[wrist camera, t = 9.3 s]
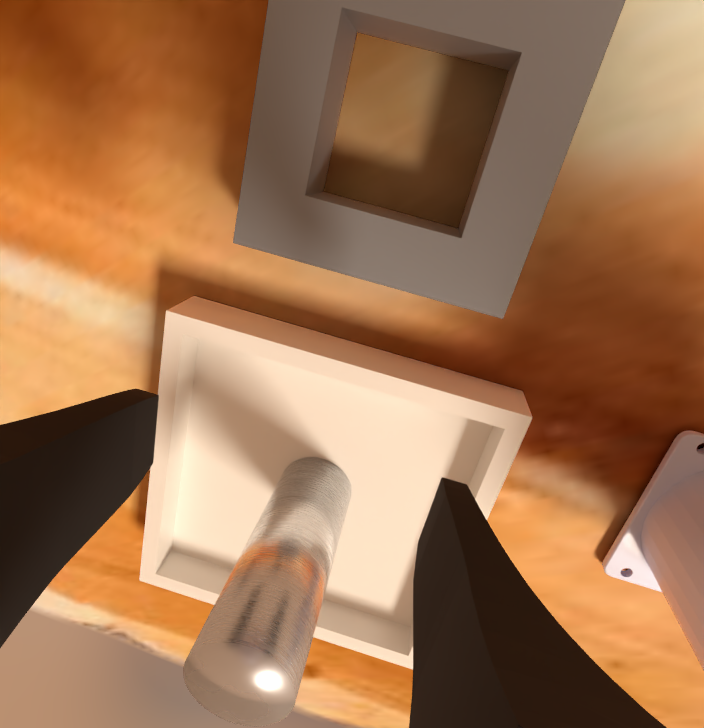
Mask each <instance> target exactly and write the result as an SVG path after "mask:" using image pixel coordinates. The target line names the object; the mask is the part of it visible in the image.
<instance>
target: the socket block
mask: <svg viewBox="0 0 704 728" xmlns="http://www.w3.org/2000/svg"><path fill="white" fill-rule="evenodd" d="M624 3H625V0H269V1H268V7H267V14H266V21H265V28H264V35H263V42H262V48H261V55H260V62H259V69H258V76H257V82H256V89H255V96H254V103H253V110H252V117H251V123H250V130H249V137H248V144H247V151H246V157H245V164H244V171H243V178H242V185H241V192H240V198H239V205H238V212H237V219H236V226H235V232H234V239H233V243H235V244H239V245H242V246H246V247H249V248H253V249H257V250H260V251H264V252H267V253H271V254H274V255H278V256H281V257H285V258H288V259H292V260H296V261H299V262H303V263H306V264H310V265H313V266H317V267H320V268H324V269H327V270H331V271H335V272H338V273H342V274H345V275H349V276H352V277H356V278H359V279H363V280H366V281H370V282H373V283H377V284H381V285H384V286H388V287H391V288H395V289H398V290H402V291H405V292H409V293H412V294H416V295H420V296H423V297H427V298H430V299H434V300H437V301H441V302H444V303H448V304H451V305H455V306H459V307H462V308H466V309H469V310H473V311H476V312H480V313H483V314H487V315H490V316H494V317H498V318H501V319H503V318H504V315H505V313H506V310H507V307H508V305H509V302H510V300H511V297H512V294H513V292H514V289H515V287H516V284H517V281H518V279H519V276H520V274H521V271H522V268H523V266H524V263H525V261H526V258H527V255H528V253H529V250H530V248H531V245H532V242H533V240H534V237H535V235H536V232H537V229H538V227H539V224H540V221H541V219H542V216H543V214H544V211H545V208H546V206H547V203H548V201H549V198H550V195H551V193H552V190H553V188H554V185H555V182H556V180H557V177H558V175H559V172H560V169H561V167H562V164H563V162H564V159H565V156H566V154H567V151H568V149H569V146H570V143H571V141H572V138H573V136H574V133H575V130H576V128H577V125H578V123H579V120H580V117H581V115H582V112H583V110H584V107H585V104H586V102H587V99H588V96H589V94H590V91H591V89H592V86H593V83H594V81H595V78H596V76H597V73H598V70H599V68H600V65H601V63H602V60H603V57H604V55H605V52H606V50H607V47H608V44H609V42H610V39H611V37H612V34H613V31H614V29H615V26H616V24H617V21H618V18H619V16H620V13H621V11H622V8H623V5H624ZM357 32H358V33H362V34H366V35H370V36H374V37H378V38H382V39H386V40H390V41H394V42H398V43H402V44H406V45H410V46H414V47H418V48H422V49H426V50H429V51H433V52H437V53H441V54H445V55H449V56H453V57H457V58H461V59H465V60H469V61H473V62H477V63H481V64H485V65H489V66H493V67H497V68H501V69H504V70H508V71H509V72H508V75H507V78H506V81H505V84H504V87H503V91H502V94H501V97H500V100H499V103H498V106H497V109H496V112H495V115H494V119H493V122H492V125H491V128H490V131H489V134H488V137H487V140H486V143H485V147H484V150H483V153H482V156H481V159H480V162H479V165H478V168H477V171H476V175H475V178H474V181H473V184H472V187H471V190H470V193H469V196H468V199H467V203H466V206H465V209H464V212H463V215H462V218H461V221H460V224H459V227H458V228H455V227H451V226H448V225H444V224H440V223H437V222H433V221H429V220H426V219H422V218H418V217H415V216H411V215H407V214H404V213H400V212H396V211H393V210H389V209H385V208H382V207H378V206H374V205H371V204H367V203H363V202H360V201H356V200H352V199H349V198H345V197H342V196H338V195H334V194H331V193H327V192H323V191H324V187H325V182H326V177H327V172H328V168H329V163H330V158H331V153H332V148H333V144H334V139H335V134H336V129H337V125H338V120H339V115H340V110H341V106H342V101H343V96H344V91H345V87H346V82H347V77H348V72H349V67H350V63H351V58H352V53H353V48H354V44H355V39H356V34H357Z"/></svg>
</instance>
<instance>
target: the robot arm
mask: <svg viewBox="0 0 704 728" xmlns="http://www.w3.org/2000/svg"><path fill="white" fill-rule="evenodd" d="M158 401H159V395H156V394H153V393H149V392H146V391H142V390H139V389H132V390H127V391H123V392H119V393H115V394H112V395H108V396H105V397H102V398H98V399H95V400H91V401H88V402H85V403H81V404H78V405H74V406H71V407H68V408H64V409H61V410H57V411H54V412H50V413H46V414H42V415H38V416H34V417H31V418H27V419H23V420H19V421H15V422H11V423H7V424H3V425H0V648H1V646H2V645H3V644H4V642H5V641H6V639H7V638H8V637H9V635H10V634H11V633H12V631H13V630H14V629H15V627H16V626H17V625H18V623H19V622H20V621H21V619H22V618H23V617H24V615H25V614H26V613H27V611H28V610H29V609H30V608H31V606H32V605H33V604H34V602H35V601H36V600H37V599H38V597H39V596H40V595H41V593H42V592H43V591H44V589H45V588H46V587H47V586H48V584H49V583H50V582H51V581H52V579H53V578H54V577H55V576H56V575H57V574H58V572H59V571H60V570H61V569H62V568H63V567H64V566H65V564H66V563H67V562H68V561H69V560H70V559H71V558H72V557H73V556H74V555H75V554H76V553H77V552H78V551H79V550H80V549H81V548H82V546H83V545H84V544H85V543H86V542H87V541H88V540H89V539H90V538H91V537H92V536H93V535H94V534H95V533H96V532H97V531H98V530H99V529H100V527H101V526H102V525H103V524H104V523H105V522H106V521H107V520H108V519H109V518H110V517H111V516H112V515H113V514H114V513H115V511H116V510H117V509H118V508H119V507H120V506H121V505H122V504H123V503H124V502H125V501H126V500H127V498H128V497H129V496H130V495H131V494H132V492H133V491H134V490H135V488H136V487H137V486H138V484H139V483H140V482H141V480H142V479H143V477H144V476H145V474H146V473H147V471H148V470H149V469H150V467H151V466H152V464H153V460H154V448H155V436H156V424H157V413H158ZM702 443H704V434H703V433H699V432H696V431H690V430H688V431H683V432H681V433H680V434H678V435H677V437H676V438H675V439H674V441H673V443H672V445H671V446H670V448H669V450H668V451H667V453H666V455H665V456H664V458H663V460H662V462H661V463H660V465H659V467H658V468H657V470H656V472H655V473H654V475H653V477H652V479H651V480H650V482H649V484H648V485H647V487H646V489H645V490H644V492H643V494H642V496H641V497H640V499H639V501H638V502H637V504H636V506H635V507H634V509H633V511H632V513H631V514H630V516H629V518H628V519H627V521H626V523H625V524H624V526H623V528H622V530H621V531H620V533H619V535H618V536H617V538H616V540H615V541H614V543H613V545H612V547H611V548H610V550H609V552H608V553H607V555H606V557H605V558H604V560H603V563H602V565H603V569H604V571H605V573H606V574H607V575H609V576H611V577H614V578H618V579H621V580H624V581H627V582H631V583H634V584H637V585H640V586H644V587H647V588H650V589H653V590H657V591H660V592H663V594H664V596H665V598H666V600H667V602H668V604H669V605H670V607H671V609H672V611H673V613H674V615H675V617H676V619H677V621H678V623H679V624H680V626H681V628H682V630H683V632H684V634H685V636H686V638H687V640H688V642H689V643H690V645H691V647H692V649H693V651H694V653H695V655H696V657H697V659H698V661H699V662H700V664H701V666H702V668H703V670H704V447H703V448H702V449H697V446H698V445H699V444H702ZM625 568H629V569H628V570H626V571H621V570H622V569H625ZM409 728H666V727H665V726H664V725H663V724H661V723H660V722H659V721H658V720H657V719H655V718H654V717H653V716H652V715H650V714H649V713H648V712H647V711H646V710H645V709H644V708H643V707H641V706H640V705H639V704H638V703H637V702H636V701H635V700H634V699H633V698H632V697H631V696H629V695H628V694H627V693H626V692H625V691H624V690H623V689H622V688H621V687H620V686H619V685H618V684H617V683H615V682H614V681H613V680H612V679H611V678H610V677H609V676H608V675H607V674H606V673H605V672H604V671H603V670H602V669H601V668H600V667H599V666H598V665H597V664H596V663H595V662H594V661H593V660H592V659H591V658H590V657H589V656H588V655H587V654H586V653H585V651H584V650H583V649H582V648H581V647H580V646H579V645H578V644H577V643H576V642H575V641H574V640H573V639H572V638H571V637H570V636H569V634H568V633H567V632H566V631H565V630H564V629H563V628H562V626H561V625H560V624H559V623H558V622H557V621H556V620H555V618H554V617H553V616H552V615H551V613H550V612H549V611H548V610H547V608H546V607H545V606H544V605H543V604H542V602H541V601H540V600H539V599H538V597H537V596H536V595H535V594H534V592H533V591H532V590H531V588H530V587H529V586H528V584H527V583H526V581H525V580H524V579H523V577H522V576H521V574H520V573H519V571H518V570H517V568H516V567H515V566H514V564H513V563H512V561H511V560H510V558H509V557H508V555H507V553H506V552H505V550H504V549H503V547H502V546H501V544H500V542H499V541H498V539H497V537H496V536H495V534H494V532H493V531H492V529H491V527H490V525H489V524H488V522H487V520H486V518H485V517H484V515H483V513H482V511H481V509H480V507H479V506H478V504H477V502H476V500H475V498H474V496H473V495H472V493H471V491H470V489H469V487H468V486H467V484H464V483H461V482H457V481H454V480H450V479H447V478H444V477H442V478H441V481H440V483H439V486H438V489H437V491H436V494H435V497H434V500H433V502H432V505H431V508H430V511H429V513H428V516H427V519H426V522H425V524H424V527H423V530H422V533H421V535H420V538H419V541H418V546H417V554H416V561H415V570H414V578H413V689H412V703H411V714H410V724H409Z"/></svg>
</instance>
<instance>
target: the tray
mask: <svg viewBox="0 0 704 728" xmlns="http://www.w3.org/2000/svg"><path fill="white" fill-rule="evenodd" d="M158 395H159V401H158V413H157V424H156V436H155V448H154V460H153V464H152V466H151V468H150V478H149V488H148V498H147V508H146V519H145V529H144V539H143V549H142V559H141V569H140V579H139V580H140V581H143V582H146V583H149V584H152V585H155V586H158V587H161V588H164V589H167V590H170V591H173V592H176V593H180V594H183V595H186V596H189V597H192V598H195V599H198V600H201V601H204V602H207V603H210V604H213V605H215V603H216V601H217V599H218V597H219V595H220V593H221V591H222V590H223V588H224V586H225V584H226V582H227V580H228V578H229V576H230V574H231V572H232V570H233V568H234V566H235V564H236V562H237V561H238V559H239V557H240V555H241V553H242V551H243V549H244V547H245V545H246V543H247V541H248V539H249V537H250V535H251V534H252V532H253V530H254V528H255V526H256V524H257V522H258V520H259V518H260V516H261V514H262V512H263V510H264V508H265V506H266V505H267V503H268V501H269V499H270V497H271V495H272V493H273V491H274V489H275V487H276V485H277V483H278V481H279V479H280V477H281V476H282V474H283V472H284V470H285V469H286V467H287V466H288V465H289V464H290V463H292V462H293V461H295V460H297V459H300V458H304V457H318V458H323V459H326V460H328V461H330V462H332V463H334V464H335V465H337V466H338V467H339V468H341V470H342V471H343V472H344V473H345V474H346V476H347V477H348V479H349V481H350V484H351V490H352V494H351V499H350V503H349V507H348V510H347V514H346V518H345V521H344V525H343V529H342V532H341V536H340V540H339V543H338V547H337V551H336V554H335V558H334V562H333V565H332V569H331V573H330V576H329V580H328V584H327V587H326V591H325V595H324V598H323V602H322V606H321V609H320V613H319V617H318V620H317V624H316V628H315V631H314V635H313V637H315V638H318V639H321V640H324V641H327V642H330V643H333V644H336V645H339V646H342V647H345V648H348V649H352V650H355V651H358V652H361V653H364V654H367V655H370V656H373V657H376V658H379V659H382V660H385V661H388V662H391V663H395V664H398V665H401V666H404V667H407V668H410V669H413V578H414V570H415V561H416V554H417V546H418V541H419V538H420V535H421V533H422V530H423V527H424V524H425V522H426V519H427V516H428V513H429V511H430V508H431V505H432V502H433V500H434V497H435V494H436V491H437V489H438V486H439V483H440V481H441V478H442V477H444V478H447V479H450V480H454V481H457V482H461V483H464V484H467V486H468V487H469V489H470V491H471V493H472V495H473V496H474V498H475V500H476V502H477V504H478V506H479V507H480V509H481V511H482V513H483V515H484V517H485V518H486V520H487V519H488V517H489V514H490V512H491V510H492V508H493V505H494V503H495V501H496V499H497V497H498V494H499V492H500V490H501V488H502V485H503V483H504V481H505V479H506V476H507V474H508V472H509V470H510V467H511V465H512V463H513V461H514V458H515V456H516V454H517V452H518V449H519V447H520V445H521V443H522V440H523V438H524V436H525V434H526V432H527V429H528V427H529V425H530V423H531V420H532V418H533V417H532V415H531V412H530V409H529V407H528V404H527V401H526V399H525V396H524V393H523V391H521V390H518V389H514V388H511V387H507V386H504V385H500V384H497V383H494V382H490V381H487V380H483V379H480V378H476V377H473V376H469V375H466V374H463V373H459V372H456V371H452V370H449V369H445V368H442V367H438V366H435V365H431V364H428V363H425V362H421V361H418V360H414V359H411V358H407V357H404V356H400V355H397V354H393V353H390V352H387V351H383V350H380V349H376V348H373V347H369V346H366V345H362V344H359V343H356V342H352V341H349V340H345V339H342V338H338V337H335V336H331V335H328V334H324V333H321V332H318V331H314V330H311V329H307V328H304V327H300V326H297V325H293V324H290V323H286V322H283V321H280V320H276V319H273V318H269V317H266V316H262V315H259V314H255V313H252V312H248V311H245V310H242V309H238V308H235V307H231V306H228V305H224V304H221V303H217V302H214V301H211V300H207V299H204V298H200V297H197V296H193V297H191V298H189V299H187V300H185V301H183V302H181V303H179V304H177V305H176V306H174V307H172V308H170V309H168V310H166V316H165V326H164V336H163V347H162V357H161V367H160V377H159V387H158Z"/></svg>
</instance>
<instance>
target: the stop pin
mask: <svg viewBox="0 0 704 728" xmlns="http://www.w3.org/2000/svg"><path fill="white" fill-rule="evenodd" d="M351 494H352V490H351V484H350V481H349V479H348V477H347V476H346V474H345V473H344V472H343V471H342V470H341V468H339V467H338V466H337V465H335V464H334V463H332V462H330V461H328V460H326V459H323V458H318V457H304V458H300V459H297V460H295V461H293V462H292V463H290V464H289V465H288V466H287V467H286V469H285V470H284V472H283V474H282V476H281V477H280V479H279V481H278V483H277V485H276V487H275V489H274V491H273V493H272V495H271V497H270V499H269V501H268V503H267V505H266V506H265V508H264V510H263V512H262V514H261V516H260V518H259V520H258V522H257V524H256V526H255V528H254V530H253V532H252V534H251V535H250V537H249V539H248V541H247V543H246V545H245V547H244V549H243V551H242V553H241V555H240V557H239V559H238V561H237V562H236V564H235V566H234V568H233V570H232V572H231V574H230V576H229V578H228V580H227V582H226V584H225V586H224V588H223V590H222V591H221V593H220V595H219V597H218V599H217V601H216V603H215V605H214V607H213V609H212V611H211V613H210V615H209V617H208V619H207V620H206V622H205V624H204V626H203V628H202V630H201V632H200V634H199V636H198V638H197V640H196V642H195V644H194V646H193V647H192V649H191V651H190V653H189V655H188V657H187V659H186V661H185V664H184V668H183V675H184V680H185V684H186V686H187V688H188V690H189V691H190V693H191V694H192V696H193V697H194V698H195V699H196V700H197V702H199V704H201V705H202V706H203V707H204V708H205V709H207V710H208V711H210V712H211V713H213V714H214V715H216V716H218V717H220V718H222V719H224V720H227V721H230V722H232V723H236V724H240V725H245V726H267V725H271V724H275V723H277V722H279V721H281V720H283V719H284V718H286V717H287V716H288V715H289V714H290V712H291V711H292V709H293V707H294V705H295V701H296V697H297V694H298V690H299V686H300V683H301V679H302V675H303V672H304V668H305V664H306V661H307V657H308V653H309V650H310V646H311V642H312V639H313V635H314V631H315V628H316V624H317V620H318V617H319V613H320V609H321V606H322V602H323V598H324V595H325V591H326V587H327V584H328V580H329V576H330V573H331V569H332V565H333V562H334V558H335V554H336V551H337V547H338V543H339V540H340V536H341V532H342V529H343V525H344V521H345V518H346V514H347V510H348V507H349V503H350V499H351Z"/></svg>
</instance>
